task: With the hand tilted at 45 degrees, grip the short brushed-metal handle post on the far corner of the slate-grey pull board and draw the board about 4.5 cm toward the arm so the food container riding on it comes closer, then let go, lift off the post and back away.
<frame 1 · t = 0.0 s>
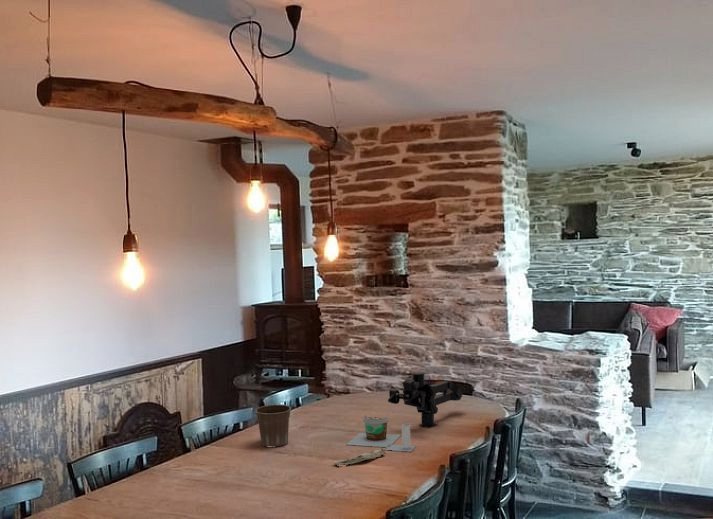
hand: (396, 401, 316), 17 cm above the table, tool horizontal, fingers open, 9 cm apart
plant pot: (274, 444, 314), on the table
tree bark: (360, 461, 286), on the table
food container: (374, 439, 314), resting on pull board
pull board: (383, 430, 310), point 5 cm above the table, slide at 0.0 cm, touching food container
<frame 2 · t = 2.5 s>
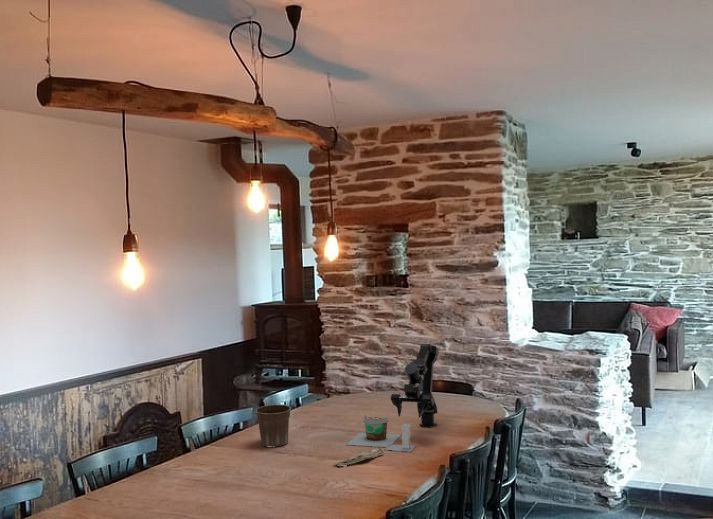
hand: (409, 416, 304), 13 cm above the table, tool tilted 45°, fingers open, 9 cm apart
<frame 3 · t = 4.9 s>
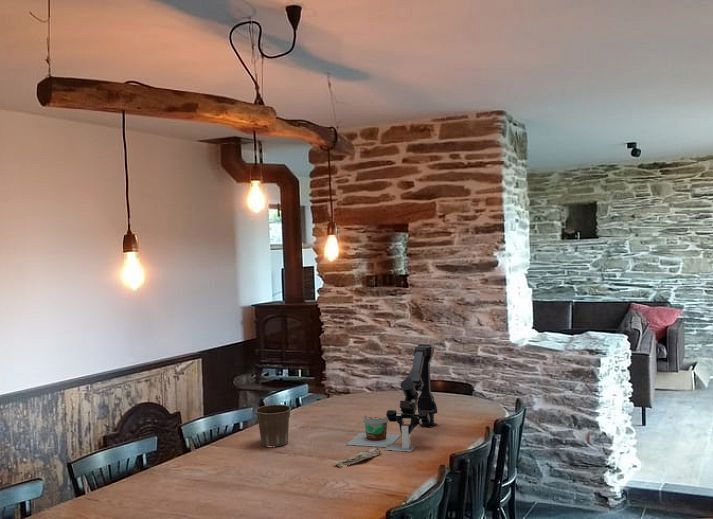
hand: (405, 433, 297), 7 cm above the table, tool tilted 45°, fingers closed on pull board, 3 cm apart
pull board: (383, 430, 310), point 5 cm above the table, slide at 0.0 cm, touching food container, gripper
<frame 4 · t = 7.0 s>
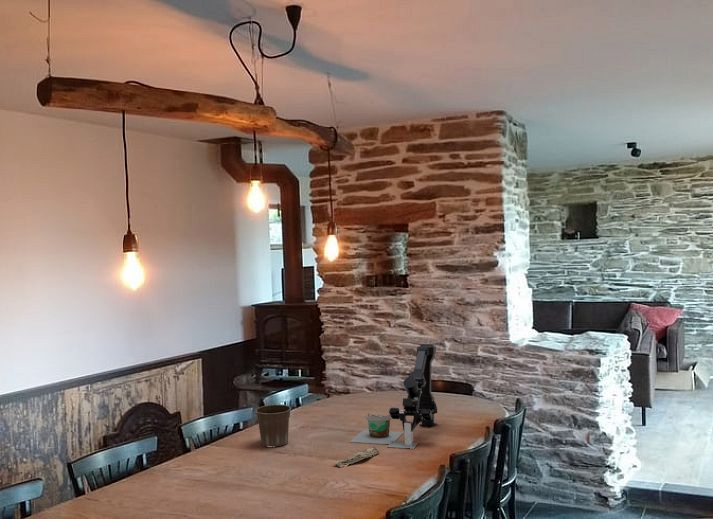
hand: (407, 431, 301), 7 cm above the table, tool tilted 45°, fingers closed on pull board, 3 cm apart
food container: (377, 437, 318), resting on pull board
pull board: (386, 427, 314), point 5 cm above the table, slide at 4.5 cm, touching food container, gripper
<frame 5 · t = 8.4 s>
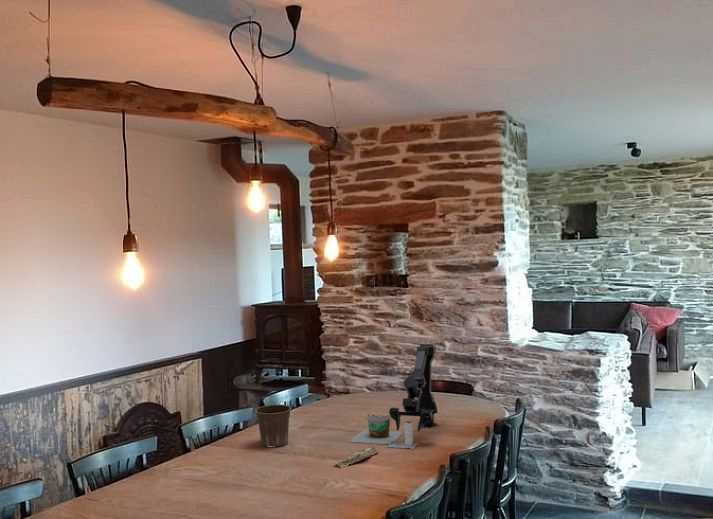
hand: (407, 431, 301), 7 cm above the table, tool tilted 45°, fingers open, 9 cm apart
pull board: (386, 427, 314), point 5 cm above the table, slide at 4.4 cm, touching food container
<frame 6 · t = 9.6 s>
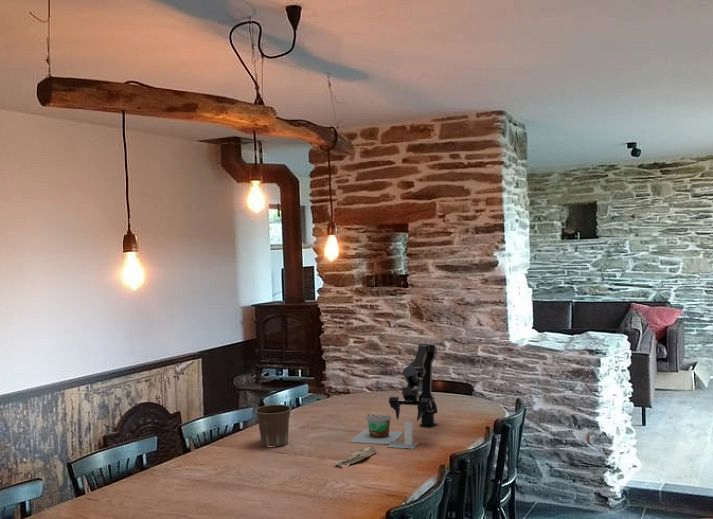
hand: (407, 419, 301), 12 cm above the table, tool tilted 45°, fingers open, 9 cm apart
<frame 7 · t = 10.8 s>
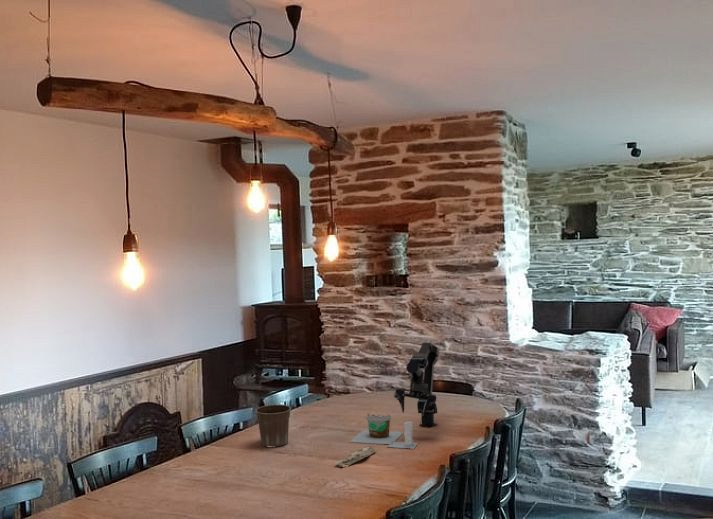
hand: (413, 414, 309), 12 cm above the table, tool tilted 35°, fingers open, 9 cm apart
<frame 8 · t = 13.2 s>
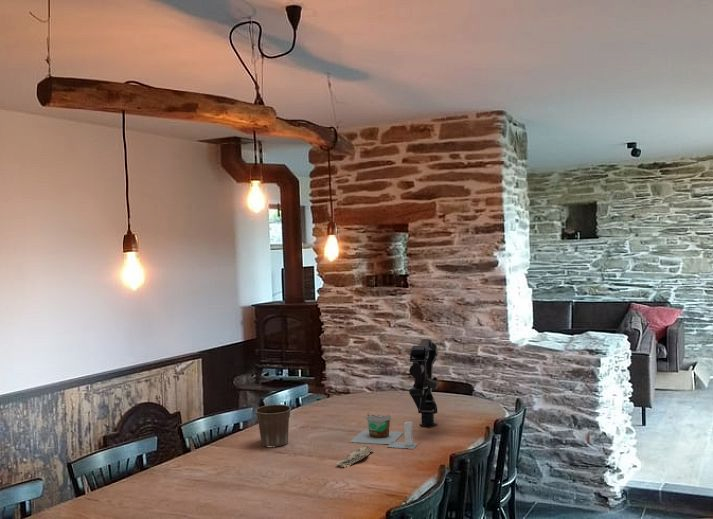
hand: (421, 406, 321), 13 cm above the table, tool pointing down, fingers open, 9 cm apart
at the end: pull board slide at 4.3 cm; food container touching pull board; food container tilted 0° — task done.
